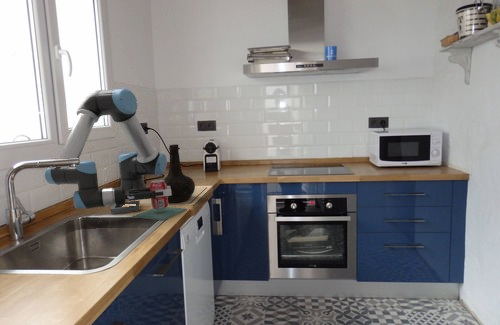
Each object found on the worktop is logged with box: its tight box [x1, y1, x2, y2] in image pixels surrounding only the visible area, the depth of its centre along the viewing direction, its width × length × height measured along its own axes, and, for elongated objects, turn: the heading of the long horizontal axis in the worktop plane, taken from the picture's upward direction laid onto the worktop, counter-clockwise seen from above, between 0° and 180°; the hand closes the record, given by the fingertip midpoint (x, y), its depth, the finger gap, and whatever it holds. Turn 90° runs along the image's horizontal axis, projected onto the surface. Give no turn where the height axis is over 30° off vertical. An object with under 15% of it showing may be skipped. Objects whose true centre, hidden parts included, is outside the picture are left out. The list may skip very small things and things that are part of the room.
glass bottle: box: [162, 143, 196, 203], centre depth 180 cm, size 18×18×28 cm
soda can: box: [149, 179, 169, 210], centre depth 157 cm, size 7×7×12 cm
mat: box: [133, 206, 188, 221], centre depth 158 cm, size 16×16×1 cm
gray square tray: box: [110, 200, 141, 215], centre depth 170 cm, size 12×12×2 cm
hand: (170, 190), depth 158 cm, fingers closed on soda can, 6 cm apart
